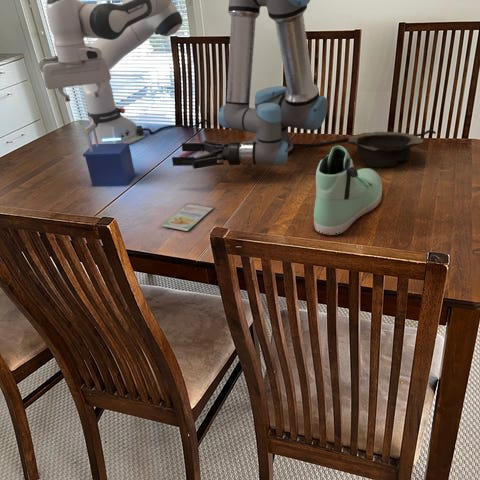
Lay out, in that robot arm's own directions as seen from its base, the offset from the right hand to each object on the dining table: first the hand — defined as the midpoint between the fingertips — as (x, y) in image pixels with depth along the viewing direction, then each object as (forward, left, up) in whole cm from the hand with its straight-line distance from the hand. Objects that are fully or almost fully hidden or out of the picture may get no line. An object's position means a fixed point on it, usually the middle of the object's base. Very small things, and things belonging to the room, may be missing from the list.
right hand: (177, 154), depth 160 cm
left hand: (+26, -13, +19) cm, 35 cm away
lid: (+22, -11, +1) cm, 25 cm away
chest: (+22, -11, -9) cm, 26 cm away
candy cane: (-8, -24, -9) cm, 27 cm away
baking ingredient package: (+4, +28, -9) cm, 30 cm away
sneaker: (-40, +43, -9) cm, 60 cm away
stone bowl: (-69, +15, -9) cm, 72 cm away
